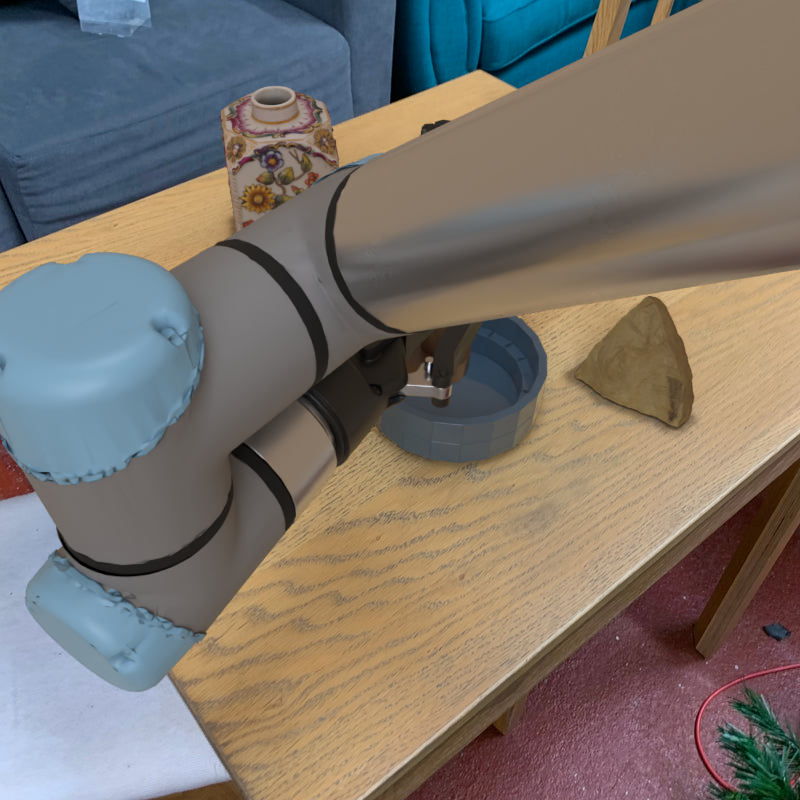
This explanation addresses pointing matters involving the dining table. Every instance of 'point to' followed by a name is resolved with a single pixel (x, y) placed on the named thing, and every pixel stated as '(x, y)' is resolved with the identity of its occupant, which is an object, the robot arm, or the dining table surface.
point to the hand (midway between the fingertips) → (477, 221)
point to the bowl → (478, 400)
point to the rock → (643, 364)
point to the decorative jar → (274, 149)
